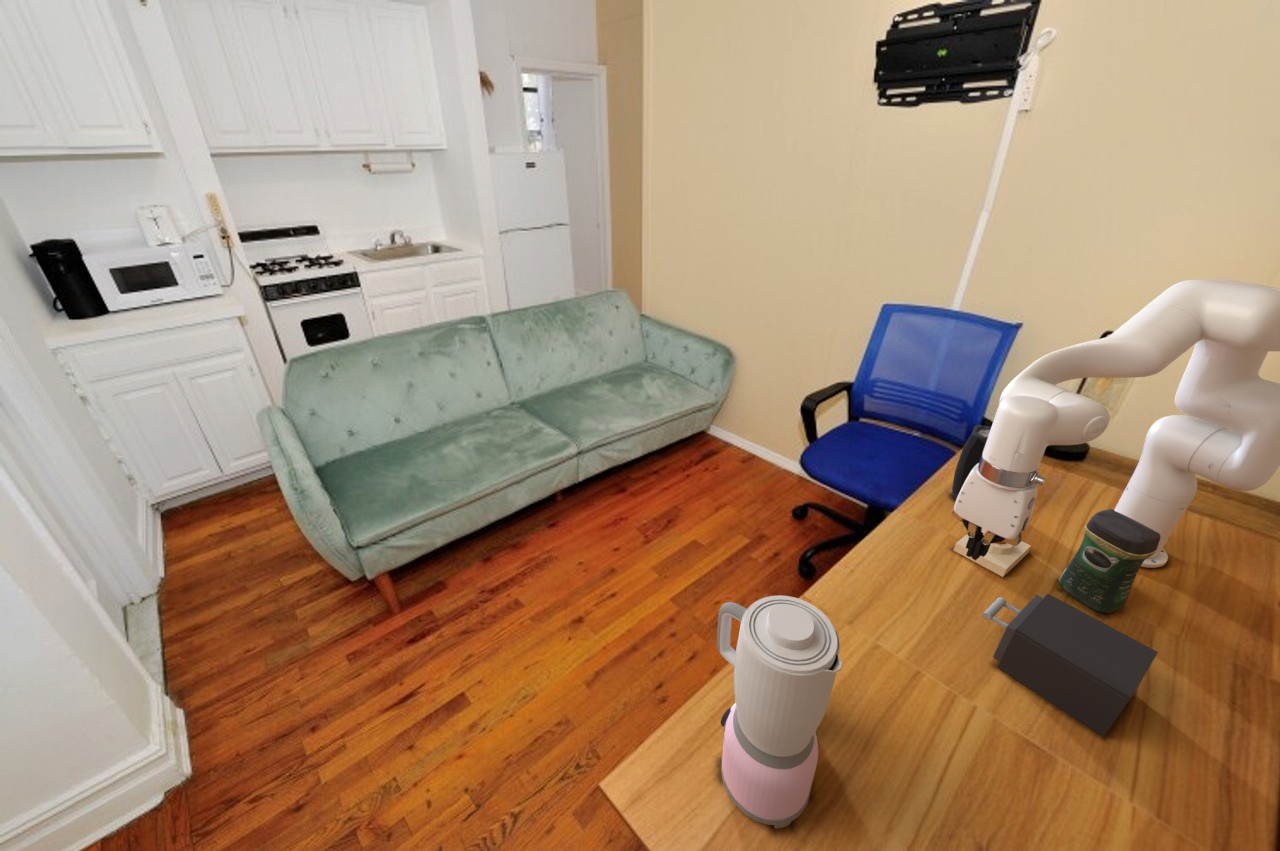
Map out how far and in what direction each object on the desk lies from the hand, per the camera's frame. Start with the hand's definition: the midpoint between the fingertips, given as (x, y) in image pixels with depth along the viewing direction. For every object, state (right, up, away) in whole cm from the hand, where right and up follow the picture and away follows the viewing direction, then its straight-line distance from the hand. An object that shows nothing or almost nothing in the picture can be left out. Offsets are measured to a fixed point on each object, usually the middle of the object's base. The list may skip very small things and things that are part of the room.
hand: (974, 554), depth 91 cm
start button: (+17, -1, +18) cm, 25 cm away
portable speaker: (+23, +4, +37) cm, 43 cm away
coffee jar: (+28, -10, +9) cm, 31 cm away
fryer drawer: (+8, -17, -5) cm, 19 cm away
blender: (-44, -26, -18) cm, 55 cm away
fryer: (+10, -19, -7) cm, 22 cm away
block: (+17, -4, +20) cm, 26 cm away
